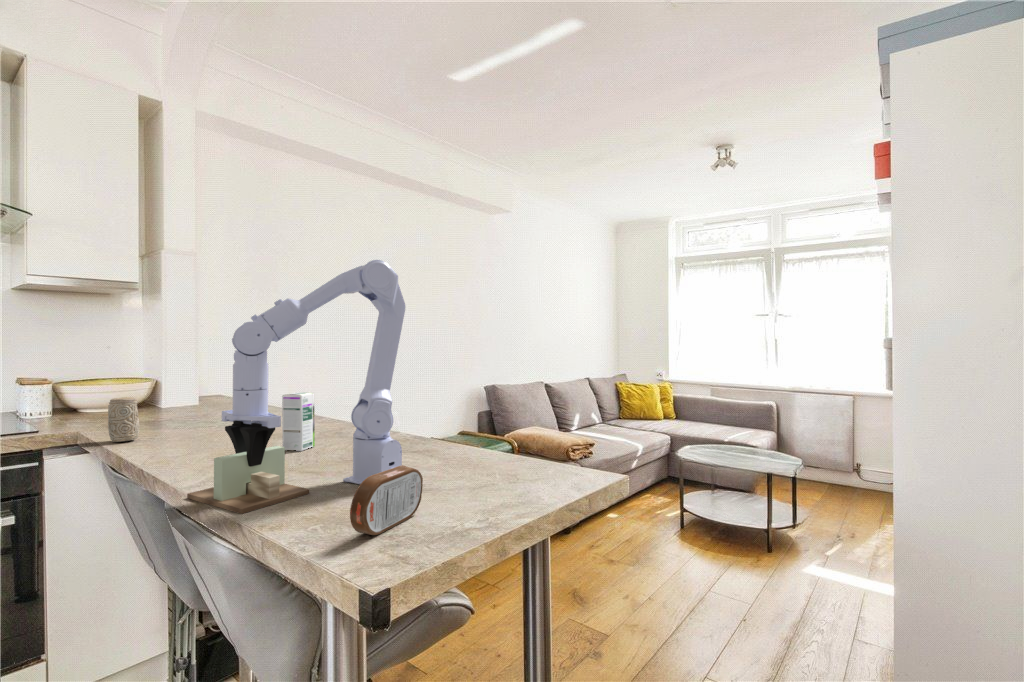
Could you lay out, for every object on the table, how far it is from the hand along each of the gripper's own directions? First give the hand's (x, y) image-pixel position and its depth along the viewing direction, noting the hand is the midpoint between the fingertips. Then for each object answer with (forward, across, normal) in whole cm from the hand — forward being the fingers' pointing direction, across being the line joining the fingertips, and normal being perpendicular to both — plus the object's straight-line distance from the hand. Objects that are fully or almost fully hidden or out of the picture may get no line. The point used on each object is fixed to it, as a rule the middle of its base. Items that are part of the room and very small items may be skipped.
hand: (249, 464), depth 91 cm
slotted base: (+6, 0, 0) cm, 6 cm away
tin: (+6, +32, +2) cm, 33 cm away
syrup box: (+6, -27, +31) cm, 42 cm away
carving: (+6, -75, +12) cm, 76 cm away
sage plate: (+5, 0, 0) cm, 5 cm away
